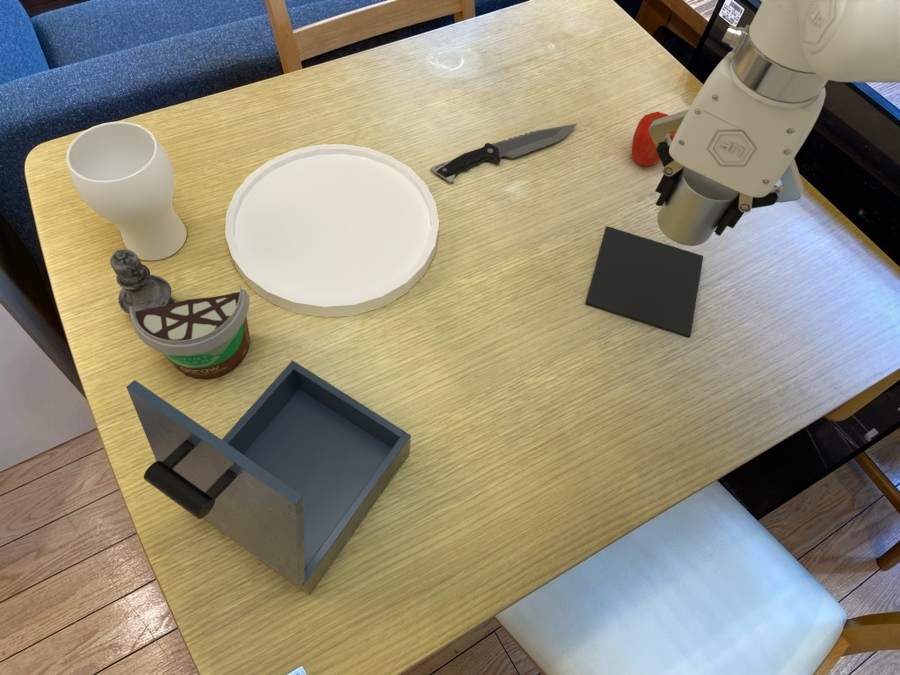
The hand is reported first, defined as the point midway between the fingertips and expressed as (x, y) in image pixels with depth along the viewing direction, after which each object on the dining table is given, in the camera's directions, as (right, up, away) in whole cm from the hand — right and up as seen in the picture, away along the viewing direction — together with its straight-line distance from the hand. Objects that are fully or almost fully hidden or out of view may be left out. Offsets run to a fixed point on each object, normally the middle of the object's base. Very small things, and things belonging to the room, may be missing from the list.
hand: (692, 211), depth 66 cm
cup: (-64, 0, +16) cm, 66 cm away
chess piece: (-62, -10, +10) cm, 64 cm away
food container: (-54, -17, +8) cm, 57 cm away
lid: (-44, -26, -15) cm, 53 cm away
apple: (+4, +14, +31) cm, 34 cm away
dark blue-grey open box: (-42, -29, +1) cm, 51 cm away
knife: (-17, +15, +29) cm, 37 cm away
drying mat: (+1, -6, +19) cm, 20 cm away
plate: (-41, +1, +19) cm, 45 cm away
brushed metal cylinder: (0, -1, +2) cm, 2 cm away
